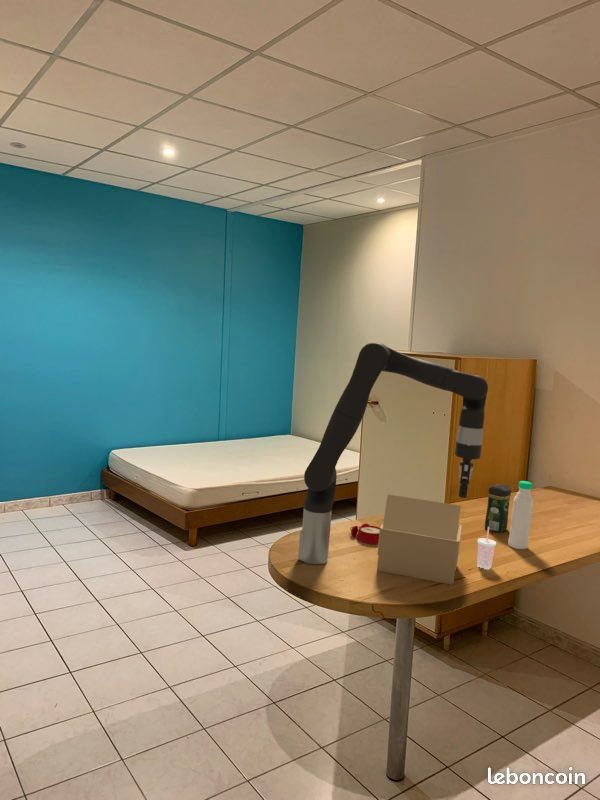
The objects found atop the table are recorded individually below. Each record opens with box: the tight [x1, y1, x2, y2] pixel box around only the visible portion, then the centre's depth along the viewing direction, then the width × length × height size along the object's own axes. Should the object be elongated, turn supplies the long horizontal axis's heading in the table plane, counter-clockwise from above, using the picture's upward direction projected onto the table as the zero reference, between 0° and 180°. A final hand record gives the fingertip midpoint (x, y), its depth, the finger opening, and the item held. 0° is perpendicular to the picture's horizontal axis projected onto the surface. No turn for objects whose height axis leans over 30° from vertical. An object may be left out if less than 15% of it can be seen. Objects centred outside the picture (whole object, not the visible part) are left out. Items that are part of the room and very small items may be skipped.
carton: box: [376, 523, 463, 586], centre depth 201 cm, size 25×18×14 cm
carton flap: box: [382, 494, 462, 541], centre depth 193 cm, size 23×11×1 cm
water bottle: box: [507, 480, 534, 550], centre depth 229 cm, size 7×7×25 cm
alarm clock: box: [349, 523, 380, 545], centre depth 227 cm, size 10×6×15 cm
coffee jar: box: [484, 483, 512, 533], centre depth 249 cm, size 10×8×19 cm
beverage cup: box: [476, 527, 497, 570], centre depth 207 cm, size 6×6×14 cm
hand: (462, 493), depth 186 cm, fingers open, 8 cm apart
